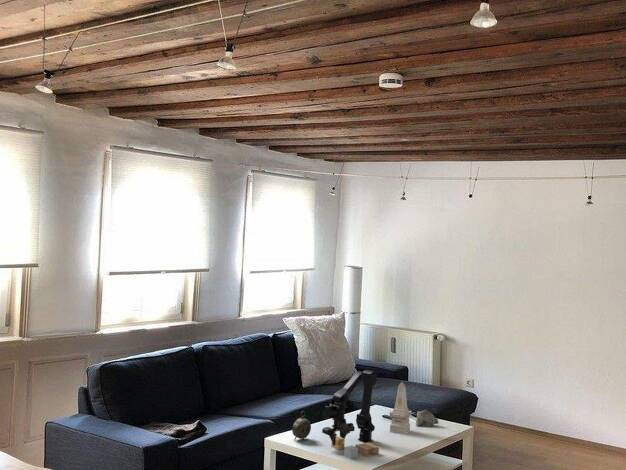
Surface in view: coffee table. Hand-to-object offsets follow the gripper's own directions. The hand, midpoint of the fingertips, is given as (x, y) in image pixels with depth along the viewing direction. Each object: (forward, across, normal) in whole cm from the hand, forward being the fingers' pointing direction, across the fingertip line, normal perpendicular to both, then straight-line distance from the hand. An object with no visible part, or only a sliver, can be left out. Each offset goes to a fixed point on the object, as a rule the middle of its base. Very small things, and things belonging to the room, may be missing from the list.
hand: (337, 444), depth 370 cm
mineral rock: (+2, +77, +7) cm, 77 cm away
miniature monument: (+2, +53, +6) cm, 53 cm away
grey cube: (+1, -4, -16) cm, 17 cm away
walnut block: (+2, +8, -15) cm, 17 cm away
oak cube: (+1, 0, 0) cm, 1 cm away
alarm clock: (+2, -10, +20) cm, 22 cm away
